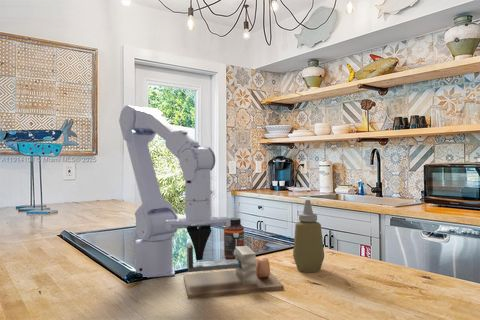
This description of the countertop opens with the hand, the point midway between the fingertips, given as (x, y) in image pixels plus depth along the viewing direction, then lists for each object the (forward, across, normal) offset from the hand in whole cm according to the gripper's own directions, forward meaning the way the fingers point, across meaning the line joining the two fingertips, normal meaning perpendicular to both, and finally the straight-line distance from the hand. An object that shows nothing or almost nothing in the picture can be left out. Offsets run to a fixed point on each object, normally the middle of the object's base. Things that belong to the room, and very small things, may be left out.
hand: (199, 259), depth 85 cm
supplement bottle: (+6, +13, +23) cm, 27 cm away
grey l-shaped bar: (+2, +5, 0) cm, 5 cm away
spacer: (+3, +14, 0) cm, 14 cm away
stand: (+6, +7, 0) cm, 10 cm away
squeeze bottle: (+6, +29, +5) cm, 30 cm away
